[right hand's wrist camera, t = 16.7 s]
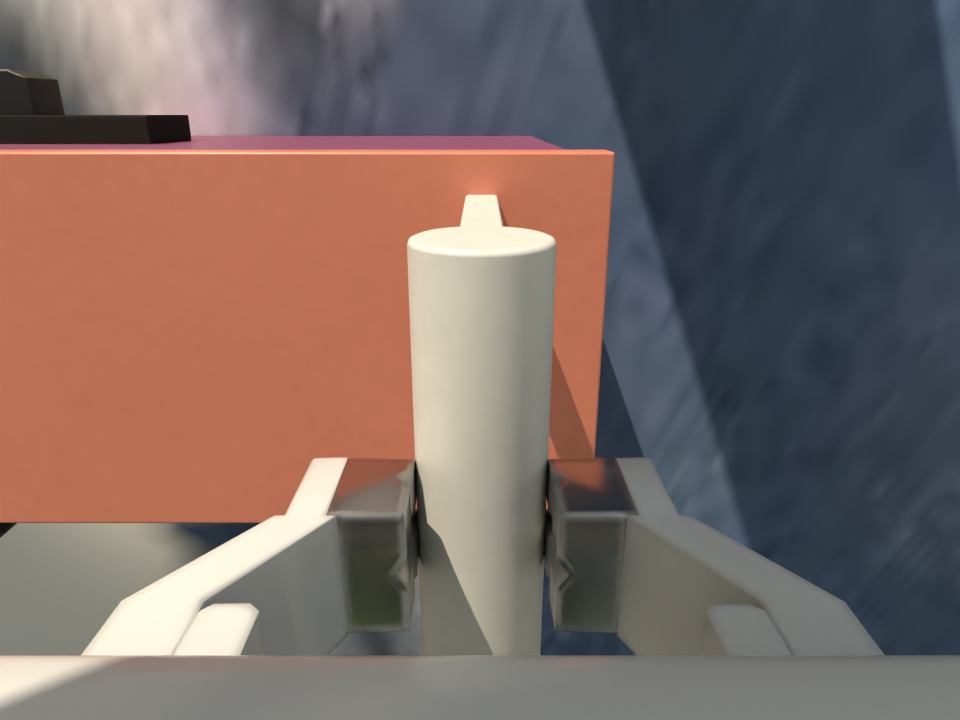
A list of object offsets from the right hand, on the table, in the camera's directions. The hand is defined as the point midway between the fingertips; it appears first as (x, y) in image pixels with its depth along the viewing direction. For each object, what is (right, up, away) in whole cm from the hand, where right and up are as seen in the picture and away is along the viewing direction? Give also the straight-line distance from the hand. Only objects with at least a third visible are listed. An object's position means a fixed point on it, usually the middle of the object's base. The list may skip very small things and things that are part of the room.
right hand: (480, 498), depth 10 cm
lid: (-5, +2, +7) cm, 9 cm away
